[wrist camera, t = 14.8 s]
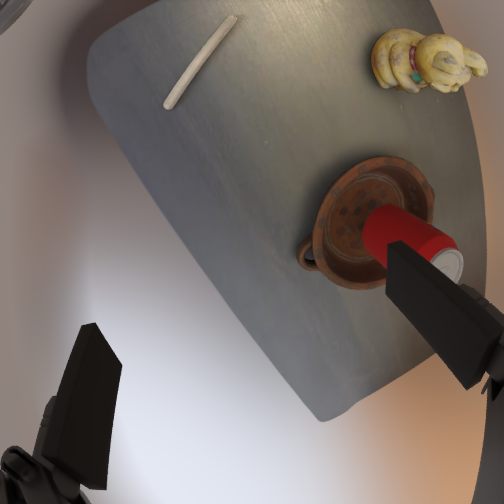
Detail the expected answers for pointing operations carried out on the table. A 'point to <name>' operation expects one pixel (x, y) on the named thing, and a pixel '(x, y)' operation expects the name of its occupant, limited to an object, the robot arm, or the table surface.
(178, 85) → the wooden stick
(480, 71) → the decorative figurine
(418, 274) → the robot arm
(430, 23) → the table surface
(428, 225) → the beverage can
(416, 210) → the dish
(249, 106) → the table surface
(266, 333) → the table surface
